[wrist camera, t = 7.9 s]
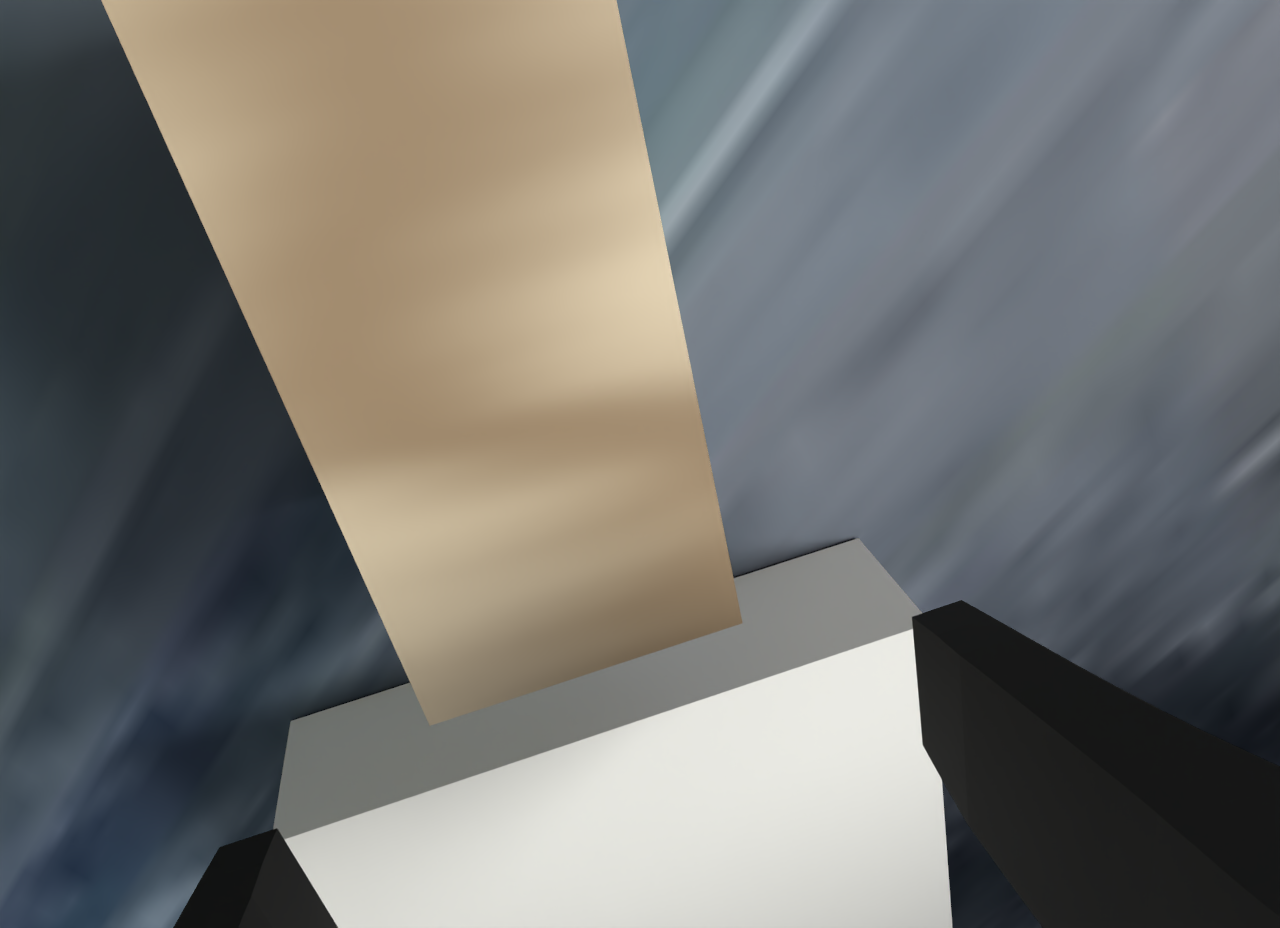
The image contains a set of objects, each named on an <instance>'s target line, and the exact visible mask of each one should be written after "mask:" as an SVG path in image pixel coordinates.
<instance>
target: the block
mask: <svg viewBox="0 0 1280 928" xmlns="http://www.w3.org/2000/svg"><path fill="white" fill-rule="evenodd" d="M101 1H102V3H103V5H104V7H105V9H106V12H107V14H108V16H109V18H110V20H111V23H112V25H113V27H114V29H115V32H116V34H117V36H118V38H119V40H120V43H121V45H122V47H123V49H124V51H125V54H126V56H127V58H128V60H129V62H130V65H131V67H132V69H133V71H134V74H135V76H136V78H137V80H138V82H139V85H140V87H141V89H142V91H143V93H144V96H145V98H146V100H147V102H148V104H149V107H150V109H151V111H152V113H153V115H154V118H155V120H156V122H157V124H158V127H159V129H160V131H161V133H162V135H163V138H164V140H165V142H166V144H167V146H168V149H169V151H170V153H171V155H172V157H173V160H174V162H175V164H176V166H177V168H178V171H179V173H180V175H181V177H182V180H183V182H184V184H185V186H186V188H187V191H188V193H189V195H190V197H191V199H192V202H193V204H194V206H195V208H196V210H197V213H198V215H199V217H200V219H201V221H202V224H203V226H204V228H205V230H206V233H207V235H208V237H209V239H210V241H211V244H212V246H213V248H214V250H215V252H216V255H217V257H218V259H219V261H220V263H221V266H222V268H223V270H224V272H225V275H226V277H227V279H228V281H229V283H230V286H231V288H232V290H233V292H234V294H235V297H236V299H237V301H238V303H239V305H240V308H241V310H242V312H243V314H244V316H245V319H246V321H247V323H248V325H249V328H250V330H251V332H252V334H253V336H254V339H255V341H256V343H257V345H258V347H259V350H260V352H261V354H262V356H263V358H264V361H265V363H266V365H267V367H268V369H269V372H270V374H271V376H272V378H273V381H274V383H275V385H276V387H277V389H278V392H279V394H280V396H281V398H282V400H283V403H284V405H285V407H286V409H287V411H288V414H289V416H290V418H291V420H292V422H293V425H294V427H295V429H296V431H297V434H298V436H299V438H300V440H301V442H302V445H303V447H304V449H305V451H306V453H307V456H308V458H309V460H310V462H311V464H312V467H313V469H314V471H315V473H316V476H317V478H318V480H319V482H320V484H321V487H322V489H323V491H324V493H325V495H326V498H327V500H328V502H329V504H330V506H331V509H332V511H333V513H334V515H335V517H336V520H337V522H338V524H339V526H340V529H341V531H342V533H343V535H344V537H345V540H346V542H347V544H348V546H349V548H350V551H351V553H352V555H353V557H354V559H355V562H356V564H357V566H358V568H359V570H360V573H361V575H362V577H363V579H364V582H365V584H366V586H367V588H368V590H369V593H370V595H371V597H372V599H373V601H374V604H375V606H376V608H377V610H378V612H379V615H380V617H381V619H382V621H383V624H384V626H385V628H386V630H387V632H388V635H389V637H390V639H391V641H392V643H393V646H394V648H395V650H396V652H397V654H398V657H399V659H400V661H401V663H402V665H403V668H404V670H405V672H406V674H407V677H408V679H409V681H410V683H411V685H412V688H413V690H414V692H415V694H416V696H417V699H418V701H419V703H420V705H421V707H422V710H423V712H424V714H425V716H426V718H427V721H428V723H429V725H430V726H431V725H434V724H437V723H440V722H443V721H446V720H449V719H452V718H455V717H458V716H461V715H464V714H468V713H471V712H474V711H477V710H480V709H483V708H486V707H489V706H492V705H495V704H498V703H501V702H504V701H507V700H510V699H513V698H516V697H519V696H522V695H525V694H529V693H532V692H535V691H538V690H541V689H544V688H547V687H550V686H553V685H556V684H559V683H562V682H565V681H568V680H571V679H574V678H577V677H580V676H583V675H586V674H590V673H593V672H596V671H599V670H602V669H605V668H608V667H611V666H614V665H617V664H620V663H623V662H626V661H629V660H632V659H635V658H638V657H641V656H644V655H647V654H651V653H654V652H657V651H660V650H663V649H666V648H669V647H672V646H675V645H678V644H681V643H684V642H687V641H690V640H693V639H696V638H699V637H702V636H705V635H709V634H712V633H715V632H718V631H721V630H724V629H727V628H730V627H733V626H736V625H739V624H742V623H743V622H742V617H741V612H740V608H739V603H738V598H737V593H736V588H735V583H734V578H733V573H732V568H731V563H730V558H729V553H728V548H727V543H726V539H725V534H724V529H723V524H722V519H721V514H720V509H719V504H718V499H717V494H716V489H715V484H714V479H713V474H712V470H711V465H710V460H709V455H708V450H707V445H706V440H705V435H704V430H703V425H702V420H701V415H700V410H699V405H698V401H697V396H696V391H695V386H694V381H693V376H692V371H691V366H690V361H689V356H688V351H687V346H686V341H685V336H684V332H683V327H682V322H681V317H680V312H679V307H678V302H677V297H676V292H675V287H674V282H673V277H672V272H671V267H670V263H669V258H668V253H667V248H666V243H665V238H664V233H663V228H662V223H661V218H660V213H659V208H658V203H657V198H656V194H655V189H654V184H653V179H652V174H651V169H650V164H649V159H648V154H647V149H646V144H645V139H644V134H643V129H642V124H641V120H640V115H639V110H638V105H637V100H636V95H635V90H634V85H633V80H632V75H631V70H630V65H629V60H628V55H627V51H626V46H625V41H624V36H623V31H622V26H621V21H620V16H619V11H618V6H617V1H616V0H101Z"/></svg>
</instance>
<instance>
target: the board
mask: <svg viewBox="0 0 1280 928" xmlns="http://www.w3.org/2000/svg"><path fill="white" fill-rule="evenodd" d="M734 583H735V588H736V593H737V598H738V603H739V608H740V612H741V617H742V622H743V623H742V624H739V625H736V626H733V627H730V628H727V629H724V630H721V631H718V632H715V633H712V634H709V635H705V636H702V637H699V638H696V639H693V640H690V641H687V642H684V643H681V644H678V645H675V646H672V647H669V648H666V649H663V650H660V651H657V652H654V653H651V654H647V655H644V656H641V657H638V658H635V659H632V660H629V661H626V662H623V663H620V664H617V665H614V666H611V667H608V668H605V669H602V670H599V671H596V672H593V673H590V674H586V675H583V676H580V677H577V678H574V679H571V680H568V681H565V682H562V683H559V684H556V685H553V686H550V687H547V688H544V689H541V690H538V691H535V692H532V693H529V694H525V695H522V696H519V697H516V698H513V699H510V700H507V701H504V702H501V703H498V704H495V705H492V706H489V707H486V708H483V709H480V710H477V711H474V712H471V713H468V714H464V715H461V716H458V717H455V718H452V719H449V720H446V721H443V722H440V723H437V724H434V725H431V726H430V725H429V723H428V721H427V718H426V716H425V714H424V712H423V710H422V707H421V705H420V703H419V701H418V699H417V696H416V694H415V692H414V690H413V688H412V685H411V683H407V684H404V685H401V686H398V687H395V688H392V689H389V690H386V691H383V692H379V693H376V694H373V695H370V696H367V697H364V698H361V699H358V700H355V701H352V702H348V703H345V704H342V705H339V706H336V707H333V708H330V709H327V710H324V711H321V712H317V713H314V714H311V715H308V716H305V717H302V718H299V719H296V720H293V721H290V728H289V734H288V740H287V746H286V752H285V758H284V765H283V771H282V777H281V783H280V789H279V795H278V802H277V808H276V814H275V820H274V826H273V829H276V828H277V829H278V830H279V832H280V833H281V835H282V837H283V838H284V840H285V842H286V843H287V845H288V846H289V848H290V850H291V851H292V853H293V855H294V856H295V858H296V860H297V861H298V863H299V864H300V866H301V868H302V869H303V871H304V873H305V874H306V876H307V877H308V879H309V881H310V882H311V884H312V886H313V887H314V889H315V891H316V892H317V894H318V895H319V897H320V899H321V900H322V902H323V904H324V905H325V907H326V908H327V910H328V912H329V913H330V915H331V917H332V918H333V920H334V922H335V923H336V925H337V926H338V928H952V914H951V900H950V886H949V872H948V858H947V845H946V831H945V817H944V803H943V789H942V779H941V777H940V775H939V774H938V772H937V770H936V768H935V766H934V765H933V763H932V761H931V759H930V757H929V756H928V754H927V752H926V750H925V748H924V747H923V743H922V732H921V720H920V708H919V696H918V685H917V673H916V661H915V649H914V637H913V626H912V617H913V616H916V615H919V614H922V612H921V611H920V610H919V609H918V608H917V606H916V605H915V604H914V603H913V602H912V601H911V599H910V598H909V597H908V596H907V595H906V593H905V592H904V591H903V590H902V589H901V588H900V586H899V585H898V584H897V583H896V582H895V581H894V579H893V578H892V577H891V576H890V575H889V574H888V572H887V571H886V570H885V569H884V568H883V567H882V565H881V564H880V563H879V562H878V561H877V559H876V558H875V557H874V556H873V555H872V554H871V552H870V551H869V550H868V549H867V548H866V547H865V545H864V544H863V543H862V542H861V541H860V540H859V538H857V539H854V540H851V541H848V542H845V543H842V544H839V545H836V546H833V547H829V548H826V549H823V550H820V551H817V552H814V553H811V554H808V555H805V556H802V557H798V558H795V559H792V560H789V561H786V562H783V563H780V564H777V565H774V566H771V567H767V568H764V569H761V570H758V571H755V572H752V573H749V574H746V575H743V576H739V577H736V578H734Z"/></svg>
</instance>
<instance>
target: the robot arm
mask: <svg viewBox="0 0 1280 928" xmlns="http://www.w3.org/2000/svg"><path fill="white" fill-rule="evenodd" d="M912 626H913V637H914V649H915V661H916V673H917V685H918V696H919V708H920V720H921V732H922V743H923V747H924V748H925V750H926V752H927V754H928V756H929V757H930V759H931V761H932V763H933V765H934V766H935V768H936V770H937V772H938V774H939V775H940V777H941V779H942V781H943V783H944V784H945V786H946V788H947V790H948V791H949V793H950V795H951V797H952V798H953V800H954V802H955V803H956V805H957V807H958V809H959V810H960V812H961V814H962V815H963V817H964V819H965V820H966V822H967V824H968V826H969V827H970V828H971V830H972V831H973V833H974V834H975V835H976V837H977V838H978V840H979V841H980V842H981V844H982V845H983V847H984V848H985V849H986V851H987V852H988V854H989V855H990V856H991V858H992V859H993V860H994V862H995V863H996V865H997V866H998V867H999V869H1000V870H1001V871H1002V873H1003V874H1004V876H1005V877H1006V878H1007V880H1008V881H1009V882H1010V884H1011V885H1012V887H1013V888H1014V889H1015V891H1016V892H1017V893H1018V895H1019V896H1020V897H1021V899H1022V900H1023V902H1024V903H1025V904H1026V906H1027V907H1028V908H1029V910H1030V911H1031V912H1032V914H1033V915H1034V917H1035V918H1036V919H1037V921H1038V922H1039V923H1040V925H1041V926H1042V927H1043V928H1280V766H1278V765H1275V764H1273V763H1271V762H1269V761H1266V760H1264V759H1262V758H1260V757H1258V756H1256V755H1254V754H1251V753H1249V752H1247V751H1245V750H1243V749H1241V748H1239V747H1237V746H1234V745H1232V744H1230V743H1228V742H1226V741H1224V740H1222V739H1219V738H1217V737H1215V736H1213V735H1211V734H1209V733H1207V732H1205V731H1202V730H1200V729H1198V728H1196V727H1194V726H1192V725H1190V724H1188V723H1186V722H1184V721H1182V720H1180V719H1178V718H1176V717H1174V716H1172V715H1170V714H1168V713H1166V712H1164V711H1162V710H1160V709H1158V708H1156V707H1154V706H1153V705H1151V704H1149V703H1147V702H1145V701H1143V700H1141V699H1139V698H1137V697H1135V696H1133V695H1132V694H1130V693H1128V692H1126V691H1124V690H1122V689H1120V688H1118V687H1116V686H1114V685H1113V684H1111V683H1109V682H1107V681H1105V680H1103V679H1101V678H1099V677H1098V676H1096V675H1094V674H1092V673H1090V672H1088V671H1087V670H1085V669H1083V668H1081V667H1079V666H1078V665H1076V664H1074V663H1072V662H1070V661H1069V660H1067V659H1065V658H1063V657H1061V656H1060V655H1058V654H1056V653H1054V652H1052V651H1051V650H1049V649H1047V648H1045V647H1044V646H1042V645H1040V644H1038V643H1037V642H1035V641H1033V640H1031V639H1029V638H1028V637H1026V636H1024V635H1022V634H1021V633H1019V632H1017V631H1015V630H1014V629H1012V628H1010V627H1008V626H1007V625H1005V624H1003V623H1001V622H999V621H998V620H996V619H994V618H992V617H991V616H989V615H987V614H985V613H984V612H982V611H980V610H978V609H976V608H975V607H973V606H971V605H969V604H967V603H966V602H964V601H962V600H961V601H958V602H955V603H952V604H949V605H946V606H943V607H940V608H937V609H934V610H931V611H928V612H925V613H922V614H919V615H916V616H913V617H912ZM174 928H338V926H337V925H336V923H335V922H334V920H333V918H332V917H331V915H330V913H329V912H328V910H327V908H326V907H325V905H324V904H323V902H322V900H321V899H320V897H319V895H318V894H317V892H316V891H315V889H314V887H313V886H312V884H311V882H310V881H309V879H308V877H307V876H306V874H305V873H304V871H303V869H302V868H301V866H300V864H299V863H298V861H297V860H296V858H295V856H294V855H293V853H292V851H291V850H290V848H289V846H288V845H287V843H286V842H285V840H284V838H283V837H282V835H281V833H280V832H279V830H278V829H277V828H276V829H273V830H270V831H267V832H264V833H261V834H258V835H255V836H252V837H249V838H246V839H243V840H240V841H237V842H234V843H231V844H228V845H225V846H222V847H220V848H219V849H218V851H217V853H216V854H215V856H214V858H213V859H212V861H211V863H210V865H209V866H208V868H207V870H206V871H205V873H204V875H203V877H202V878H201V880H200V882H199V883H198V885H197V887H196V889H195V890H194V892H193V894H192V896H191V897H190V899H189V901H188V903H187V905H186V906H185V908H184V910H183V912H182V913H181V915H180V917H179V919H178V920H177V922H176V924H175V926H174Z"/></svg>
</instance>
